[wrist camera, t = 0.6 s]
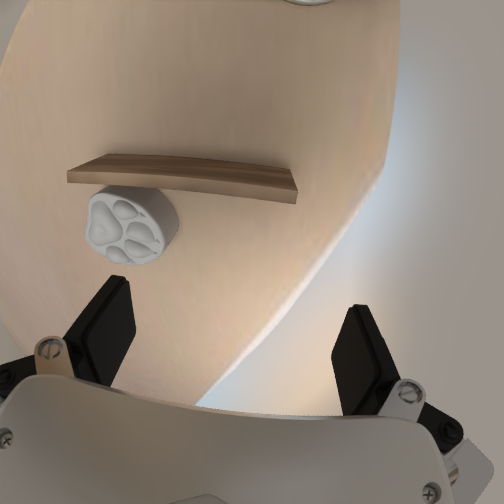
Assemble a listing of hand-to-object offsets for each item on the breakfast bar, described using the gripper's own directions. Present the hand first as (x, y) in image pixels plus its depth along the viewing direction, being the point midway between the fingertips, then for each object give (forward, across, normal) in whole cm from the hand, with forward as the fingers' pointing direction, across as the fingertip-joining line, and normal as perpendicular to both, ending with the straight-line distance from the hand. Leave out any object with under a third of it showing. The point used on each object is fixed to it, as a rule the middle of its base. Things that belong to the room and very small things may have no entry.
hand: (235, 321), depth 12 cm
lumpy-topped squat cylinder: (+32, +17, +8) cm, 37 cm away
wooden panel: (+32, +9, -1) cm, 33 cm away
